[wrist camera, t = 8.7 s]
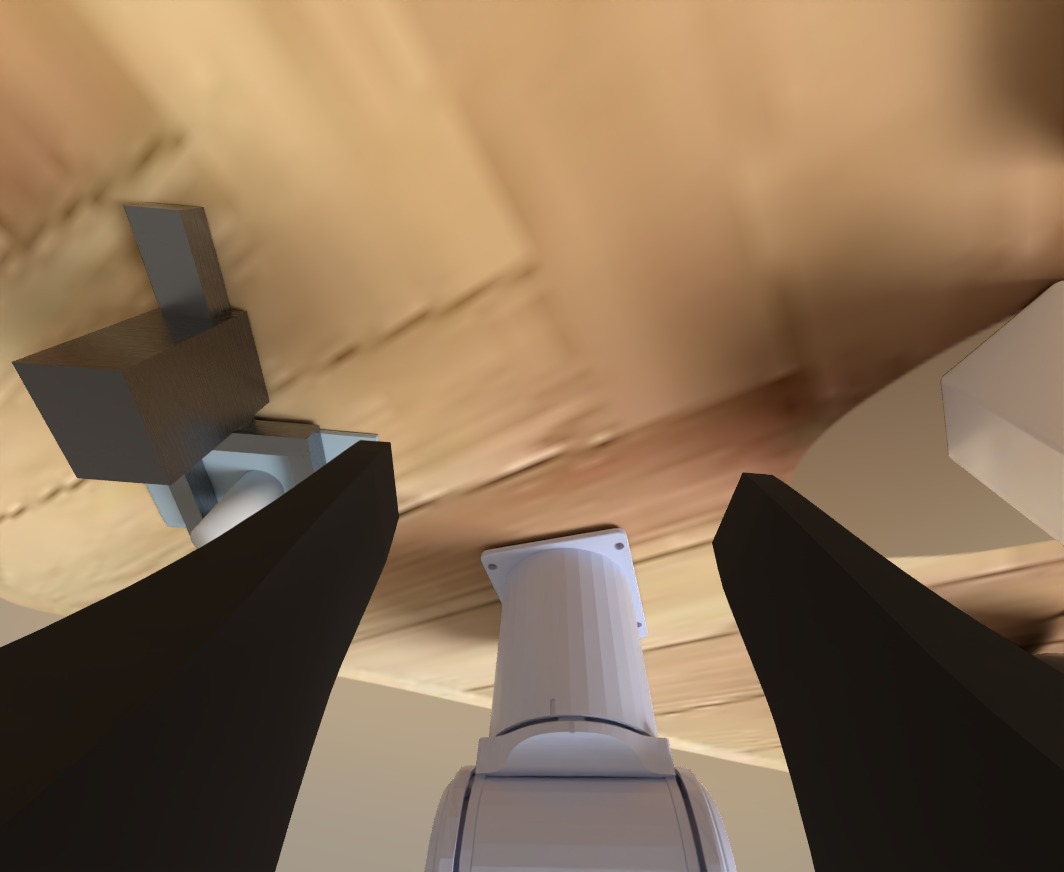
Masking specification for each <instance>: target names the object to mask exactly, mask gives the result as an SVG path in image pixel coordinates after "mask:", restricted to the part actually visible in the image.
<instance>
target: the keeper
mask: <svg viewBox="0 0 1064 872" xmlns="http://www.w3.org/2000/svg"><path fill="white" fill-rule="evenodd" d="M320 433H321V438H322V443H323V448H324V453H325V458H326V463H328V462H329V461H331V460H332V459H334V458H335V457H336V456H338V455H339V454H341V453H342V452H343V451H345V450H346V449H348V448H349V447H350V446H352V445H353V444H355V443H356V442H358V441H359V440H368V441H379V439H378V435H376V434H364V433H352V432H341V431H329V430H320ZM202 461H203V463H204V466H205V469H206V471H207V474H208V477H209V479H210V482H211V485H212V488H213V490H214V493H215V496H216V498H217V501H218V503H217V505H216V506H215V507H214V508H213V509H212V510H211V511H210V512H209V513H208V514H207V515H206V516H205V517H204V519H203V520H202V521H201V522H200V523H199V524H198V525H197V526H196V527H195V528H194V529H193V530H192V532H191V535H190V537H191V541H192V543H193V544H194V545H195V546H196V548H200V547H202V546H203V545H205V544H207V543H208V542H210V541H212V540H213V539H215V538H217V537H218V536H220V535H222V534H223V533H225V532H226V531H228V530H229V529H231V528H233V527H234V526H236V525H237V524H239V523H240V522H242V521H243V520H245V519H247V518H248V517H250V516H251V515H253V514H254V513H256V512H257V511H259V510H261V509H262V508H264V507H265V506H267V505H268V504H270V503H271V502H273V501H274V500H276V499H277V498H279V497H280V496H282V495H283V494H285V493H286V492H287V491H289V490H290V489H292V488H293V487H294V486H295V482H294V478H293V474H292V470H291V466H290V462H289V458H288V456H277V455H264V454H252V453H240V452H228V451H216V450H212V451H211V452H210V453H209V454H207V455H206V456H205V457H204V458H203V459H202ZM146 486H147V488H148V490H149V492H150V494H151V496H152V498H153V500H154V501H155V503H156V505H157V507H158V509H159V511H160V513H161V515H162V517H163V519H164V521H165V523H166V525H167V527H178V528H186V525H185V523H184V521H183V518H182V516H181V514H180V512H179V509H178V507H177V505H176V502H175V500H174V498H173V496H172V493H171V491H170V489H169V486H168V485H158V484H146Z"/></svg>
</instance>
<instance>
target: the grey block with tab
mask: <svg viewBox="0 0 1064 872" xmlns="http://www.w3.org/2000/svg"><path fill="white" fill-rule="evenodd" d="M123 206H124V208H125V211H126V214H127V217H128V220H129V222H130V225H131V228H132V231H133V234H134V237H135V239H136V242H137V245H138V248H139V251H140V253H141V256H142V259H143V262H144V265H145V267H146V270H147V273H148V276H149V279H150V282H151V284H152V287H153V290H154V293H155V296H156V298H157V301H158V304H159V307H160V308H158V309H155V310H153V311H150V312H147V313H145V314H142V315H139V316H136V317H134V318H131V319H128V320H125V321H123V322H120V323H117V324H114V325H112V326H109V327H106V328H104V329H101V330H98V331H95V332H93V333H90V334H87V335H84V336H82V337H79V338H76V339H73V340H71V341H68V342H65V343H62V344H60V345H57V346H54V347H52V348H49V349H46V350H43V351H41V352H38V353H35V354H32V355H30V356H27V357H24V358H21V359H19V360H16V361H13V362H12V364H13V365H14V367H15V369H16V371H17V372H18V374H19V376H20V378H21V379H22V381H23V383H24V385H25V387H26V388H27V390H28V392H29V394H30V395H31V397H32V399H33V401H34V403H35V404H36V406H37V408H38V410H39V411H40V413H41V415H42V417H43V418H44V420H45V422H46V424H47V426H48V427H49V429H50V431H51V433H52V434H53V436H54V438H55V440H56V441H57V443H58V445H59V447H60V449H61V450H62V452H63V454H64V456H65V457H66V459H67V461H68V463H69V465H70V466H71V468H72V470H73V472H74V473H75V475H76V477H77V478H83V479H96V480H108V481H120V482H133V483H145V484H158V485H168V486H169V489H170V491H171V493H172V496H173V498H174V500H175V502H176V505H177V507H178V509H179V512H180V514H181V516H182V518H183V521H184V523H185V525H186V528H187V530H188V532H189V535H191V532H192V530H193V529H194V528H195V527H196V526H197V525H198V524H199V523H200V522H201V521H202V520H203V519H204V517H205V516H206V515H207V514H208V513H209V512H210V511H211V510H212V509H213V508H214V507H215V506H216V505H217V503H218V501H217V498H216V496H215V493H214V490H213V488H212V485H211V482H210V479H209V477H208V474H207V471H206V469H205V466H204V463H203V461H202V459H203V458H204V457H205V456H206V455H207V454H209V453H210V452H211V451H212V450H216V451H228V452H240V453H252V454H264V455H277V456H288V458H289V462H290V466H291V470H292V474H293V478H294V482H295V486H296V485H297V484H299V483H300V482H302V481H303V480H304V479H306V478H307V477H309V476H310V475H312V474H313V473H314V472H316V471H317V470H318V469H320V468H321V467H323V466H324V465H325V464H327V463H326V458H325V453H324V448H323V443H322V438H321V433H320V427H319V425H311V424H299V423H287V422H275V421H263V420H254V416H253V415H255V414H256V413H257V412H258V411H259V410H260V409H262V408H263V407H264V406H265V405H266V404H268V403H269V398H268V394H267V390H266V386H265V382H264V378H263V374H262V370H261V366H260V362H259V358H258V354H257V350H256V347H255V343H254V339H253V335H252V331H251V327H250V323H249V319H248V315H247V311H239V310H231V308H230V304H229V300H228V297H227V293H226V289H225V286H224V282H223V278H222V275H221V271H220V267H219V264H218V260H217V256H216V253H215V249H214V245H213V242H212V238H211V234H210V230H209V227H208V223H207V219H206V216H205V212H204V208H203V207H193V206H183V205H172V204H161V203H142V204H131V205H123Z"/></svg>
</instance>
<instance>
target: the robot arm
mask: <svg viewBox="0 0 1064 872" xmlns="http://www.w3.org/2000/svg"><path fill="white" fill-rule="evenodd" d="M398 519H399V513H398V505H397V496H396V487H395V478H394V469H393V460H392V451H391V442H380V441H368V440H359V441H358V442H356V443H355V444H353V445H352V446H350V447H349V448H348V449H346V450H345V451H343V452H342V453H341V454H339V455H338V456H336V457H335V458H334V459H332V460H331V461H329V462H328V463H327V464H325V465H324V466H323V467H321V468H320V469H318V470H317V471H316V472H314V473H313V474H312V475H310V476H309V477H307V478H306V479H304V480H303V481H302V482H300V483H299V484H297V485H296V486H294V487H293V488H292V489H290V490H289V491H287V492H286V493H285V494H283V495H282V496H280V497H279V498H277V499H276V500H274V501H273V502H271V503H270V504H268V505H267V506H265V507H264V508H262V509H261V510H259V511H257V512H256V513H254V514H253V515H251V516H250V517H248V518H247V519H245V520H243V521H242V522H240V523H239V524H237V525H236V526H234V527H233V528H231V529H229V530H228V531H226V532H225V533H223V534H222V535H220V536H218V537H217V538H215V539H213V540H212V541H210V542H208V543H207V544H205V545H203V546H202V547H200V548H198V549H197V550H195V551H193V552H191V553H190V554H188V555H186V556H184V557H183V558H181V559H179V560H177V561H175V562H173V563H172V564H170V565H168V566H166V567H164V568H162V569H161V570H159V571H157V572H155V573H153V574H152V575H150V576H148V577H146V578H144V579H142V580H140V581H138V582H136V583H135V584H133V585H131V586H129V587H127V588H125V589H123V590H121V591H119V592H116V593H114V594H112V595H110V596H108V597H106V598H104V599H102V600H100V601H98V602H96V603H94V604H92V605H90V606H88V607H86V608H84V609H82V610H79V611H77V612H75V613H73V614H71V615H69V616H67V617H65V618H63V619H61V620H59V621H57V622H55V623H53V624H51V625H49V626H47V627H45V628H42V629H40V630H38V631H36V632H34V633H32V634H29V635H27V636H25V637H23V638H21V639H18V640H16V641H14V642H11V643H9V644H7V645H5V646H3V647H0V872H275V870H276V866H277V863H278V860H279V856H280V852H281V849H282V846H283V842H284V839H285V835H286V832H287V828H288V825H289V822H290V818H291V815H292V812H293V808H294V805H295V802H296V799H297V795H298V792H299V789H300V786H301V783H302V779H303V776H304V773H305V770H306V767H307V763H308V760H309V757H310V754H311V750H312V747H313V744H314V741H315V738H316V735H317V732H318V729H319V726H320V723H321V719H322V717H323V714H324V711H325V708H326V705H327V702H328V699H329V696H330V693H331V690H332V687H333V685H334V682H335V680H336V677H337V675H338V672H339V669H340V667H341V664H342V662H343V660H344V658H345V655H346V653H347V651H348V648H349V646H350V644H351V641H352V639H353V637H354V635H355V632H356V630H357V628H358V625H359V623H360V621H361V619H362V616H363V614H364V612H365V609H366V607H367V605H368V603H369V600H370V598H371V596H372V593H373V591H374V589H375V586H376V584H377V582H378V579H379V577H380V575H381V572H382V570H383V567H384V565H385V563H386V560H387V557H388V553H389V550H390V547H391V544H392V540H393V537H394V533H395V529H396V526H397V522H398ZM617 543H621V544H617ZM712 544H713V549H714V553H715V558H716V562H717V567H718V571H719V575H720V578H721V582H722V586H723V589H724V592H725V595H726V597H727V600H728V603H729V605H730V608H731V610H732V613H733V616H734V618H735V621H736V623H737V626H738V628H739V631H740V633H741V636H742V639H743V641H744V644H745V646H746V649H747V651H748V654H749V656H750V659H751V661H752V664H753V666H754V669H755V671H756V674H757V676H758V679H759V681H760V684H761V686H762V689H763V691H764V694H765V696H766V699H767V702H768V705H769V708H770V711H771V713H772V716H773V719H774V722H775V725H776V728H777V732H778V735H779V738H780V742H781V745H782V749H783V752H784V756H785V759H786V762H787V766H788V769H789V773H790V776H791V780H792V783H793V787H794V791H795V794H796V798H797V802H798V806H799V810H800V814H801V817H802V821H803V825H804V829H805V833H806V836H807V840H808V844H809V848H810V851H811V856H812V860H813V864H814V869H815V872H1064V673H1062V672H1060V671H1059V670H1057V669H1055V668H1053V667H1052V666H1050V665H1048V664H1047V663H1045V662H1043V661H1041V660H1040V659H1038V658H1036V657H1035V656H1033V655H1031V654H1030V653H1028V652H1026V651H1025V650H1023V649H1022V648H1020V647H1018V646H1017V645H1015V644H1014V643H1012V642H1010V641H1009V640H1007V639H1005V638H1004V637H1002V636H1001V635H999V634H997V633H996V632H994V631H993V630H991V629H989V628H988V627H986V626H985V625H983V624H981V623H980V622H978V621H976V620H975V619H973V618H972V617H970V616H969V615H967V614H966V613H964V612H963V611H961V610H960V609H958V608H956V607H955V606H953V605H952V604H950V603H949V602H947V601H946V600H944V599H943V598H942V597H940V596H939V595H937V594H936V593H934V592H933V591H931V590H930V589H929V588H927V587H926V586H924V585H923V584H921V583H920V582H918V581H917V580H916V579H914V578H913V577H911V576H910V575H908V574H907V573H905V572H904V571H903V570H901V569H900V568H898V567H897V566H896V565H894V564H893V563H892V562H890V561H889V560H887V559H886V558H885V557H883V556H882V555H880V554H879V553H878V552H876V551H875V550H874V549H872V548H871V547H870V546H868V545H867V544H866V543H864V542H863V541H862V540H860V539H859V538H858V537H856V536H855V535H854V534H852V533H851V532H849V531H848V530H847V529H846V528H844V527H843V526H842V525H840V524H839V523H838V522H836V521H835V520H834V519H833V518H831V517H830V516H829V515H827V514H826V513H825V512H823V511H822V510H821V509H819V508H818V507H817V506H815V505H814V504H813V503H811V502H810V501H809V500H807V499H806V498H805V497H803V496H802V495H801V494H799V493H798V492H797V491H795V490H794V489H792V488H791V487H790V486H788V485H787V484H785V483H784V482H782V481H781V480H779V479H778V478H776V477H775V476H773V475H766V474H755V473H742V475H741V478H740V480H739V482H738V485H737V487H736V489H735V491H734V494H733V496H732V498H731V501H730V503H729V505H728V508H727V510H726V512H725V514H724V517H723V519H722V521H721V524H720V526H719V528H718V531H717V533H716V535H715V537H714V540H713V542H712ZM481 562H482V564H483V566H484V568H485V570H486V573H487V575H488V577H489V579H490V581H491V583H492V585H493V587H494V589H495V591H496V593H497V595H498V597H499V599H500V601H501V603H502V613H501V623H500V633H499V643H498V653H497V663H496V672H495V682H494V692H493V702H492V712H491V722H490V733H489V737H484V738H480V739H479V745H478V754H477V762H476V766H464V767H462V768H461V769H460V770H459V771H458V772H457V774H456V776H455V778H454V779H453V780H452V781H451V783H450V784H449V785H448V786H447V787H446V789H445V790H444V792H443V794H442V797H441V799H440V803H439V805H438V808H437V812H436V816H435V819H434V823H433V827H432V832H431V837H430V842H429V848H428V853H427V859H426V865H425V872H737V870H736V866H735V862H734V858H733V854H732V850H731V847H730V843H729V840H728V836H727V833H726V830H725V827H724V824H723V821H722V818H721V816H720V813H719V810H718V808H717V806H716V804H715V801H714V799H713V797H712V796H711V794H710V793H709V791H708V790H707V789H706V787H705V786H704V785H703V784H702V783H701V782H700V781H699V780H698V779H697V777H696V775H695V774H694V773H693V772H692V771H691V770H690V769H688V768H686V767H674V765H673V759H672V754H671V749H670V744H669V740H668V739H667V738H658V734H657V729H656V723H655V718H654V713H653V707H652V702H651V696H650V691H649V686H648V680H647V675H646V669H645V664H644V659H643V653H642V648H641V642H640V639H642V638H645V637H646V636H647V635H648V631H647V626H646V622H645V617H644V612H643V608H642V603H641V599H640V594H639V589H638V585H637V580H636V576H635V571H634V567H633V562H632V557H631V553H630V548H629V544H628V539H627V535H626V532H625V531H624V530H623V529H620V528H613V529H607V530H601V531H595V532H590V533H584V534H578V535H572V536H566V537H560V538H554V539H548V540H542V541H536V542H531V543H525V544H519V545H513V546H507V547H501V548H495V549H489V550H485V551H484V552H482V555H481Z"/></svg>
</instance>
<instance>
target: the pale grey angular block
mask: <svg viewBox="0 0 1064 872" xmlns="http://www.w3.org/2000/svg"><path fill="white" fill-rule="evenodd" d="M941 390H942V398H943V408H944V417H945V427H946V435H947V446H948V455H949V457H950V458H951V459H952V460H954V461H955V462H956V463H958V464H959V465H960V466H961V467H963V468H964V469H965V470H967V471H968V472H969V473H970V474H972V475H973V476H974V477H976V478H977V479H978V480H979V481H981V482H982V483H983V484H985V485H986V486H987V487H989V488H990V489H991V490H992V491H994V492H995V493H996V494H998V495H999V496H1000V497H1001V498H1003V499H1004V500H1005V501H1006V502H1008V503H1009V504H1011V505H1012V506H1013V507H1014V508H1015V509H1017V510H1018V511H1019V512H1021V513H1022V514H1023V515H1024V516H1026V517H1027V518H1028V519H1030V520H1031V521H1032V522H1034V523H1035V524H1036V525H1037V526H1039V527H1040V528H1041V529H1043V530H1044V531H1045V532H1046V533H1048V534H1049V535H1050V536H1052V537H1053V538H1054V539H1055V540H1057V541H1058V542H1059V543H1061V544H1062V545H1063V546H1064V281H1059V282H1056V283H1055V284H1053V285H1052V286H1051V287H1049V288H1048V289H1047V290H1046V291H1045V292H1043V293H1042V294H1041V295H1040V296H1039V297H1037V298H1036V299H1035V300H1034V301H1033V302H1031V303H1030V304H1029V305H1028V306H1027V307H1025V308H1024V309H1023V310H1022V311H1021V312H1019V313H1018V314H1017V315H1016V316H1014V317H1013V318H1012V319H1011V320H1010V321H1008V322H1007V323H1006V324H1005V325H1004V326H1002V327H1001V328H1000V329H999V330H998V331H996V332H995V333H994V334H993V335H992V336H990V337H989V338H988V339H987V340H986V341H984V342H983V343H982V344H981V345H980V346H978V347H977V348H976V349H975V350H974V351H972V352H971V353H970V354H969V355H968V356H966V357H965V358H964V359H963V360H962V361H960V362H959V363H958V364H957V365H956V366H954V367H953V368H952V369H951V370H950V371H948V372H947V373H946V374H945V375H943V377H942V378H941Z"/></svg>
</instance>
